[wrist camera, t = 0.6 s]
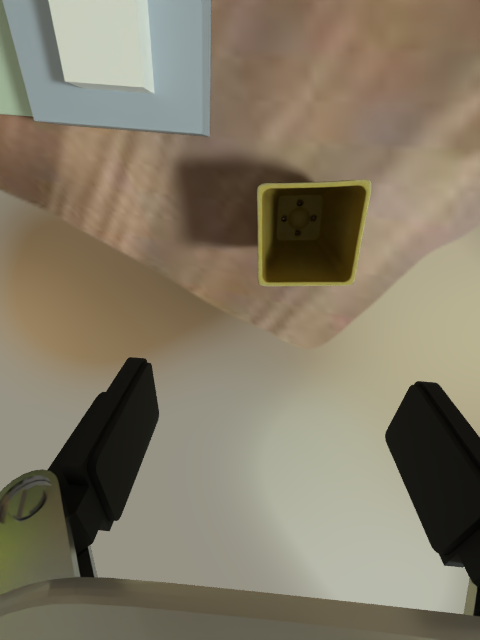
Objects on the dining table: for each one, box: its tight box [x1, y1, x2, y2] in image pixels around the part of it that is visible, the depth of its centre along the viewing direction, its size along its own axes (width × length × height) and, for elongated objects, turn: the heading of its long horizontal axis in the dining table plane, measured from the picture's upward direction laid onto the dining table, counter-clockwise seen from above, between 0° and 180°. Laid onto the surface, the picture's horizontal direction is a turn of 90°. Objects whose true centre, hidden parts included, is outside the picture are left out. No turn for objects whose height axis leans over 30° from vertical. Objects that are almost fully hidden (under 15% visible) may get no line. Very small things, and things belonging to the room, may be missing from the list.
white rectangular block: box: [48, 0, 154, 94], centre depth 19 cm, size 9×6×2 cm, turn 176°
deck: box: [3, 0, 211, 137], centre depth 22 cm, size 14×15×4 cm
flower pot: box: [257, 179, 371, 286], centre depth 27 cm, size 9×9×9 cm
